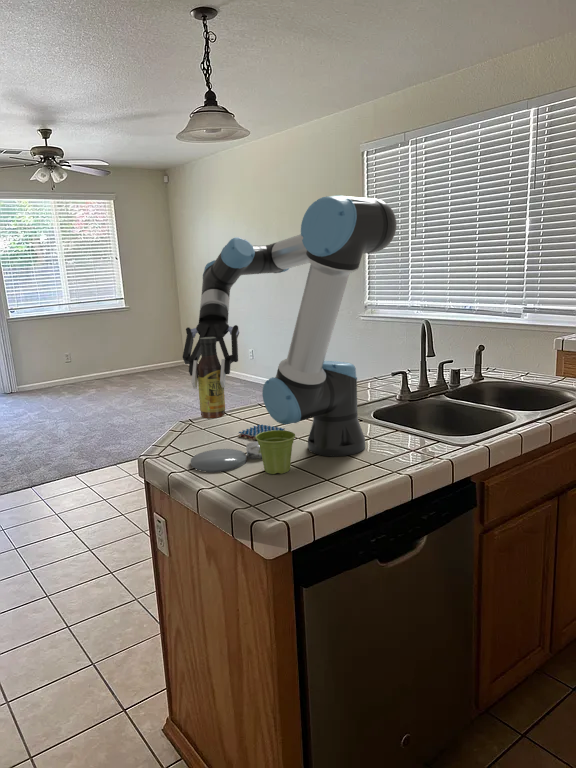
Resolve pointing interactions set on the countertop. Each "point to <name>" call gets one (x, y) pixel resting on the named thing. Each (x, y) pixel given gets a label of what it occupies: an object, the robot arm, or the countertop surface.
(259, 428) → the woven mat
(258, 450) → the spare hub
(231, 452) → the disc
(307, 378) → the robot arm
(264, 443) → the plant pot
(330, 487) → the countertop surface
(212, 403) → the sauce bottle
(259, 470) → the countertop surface
